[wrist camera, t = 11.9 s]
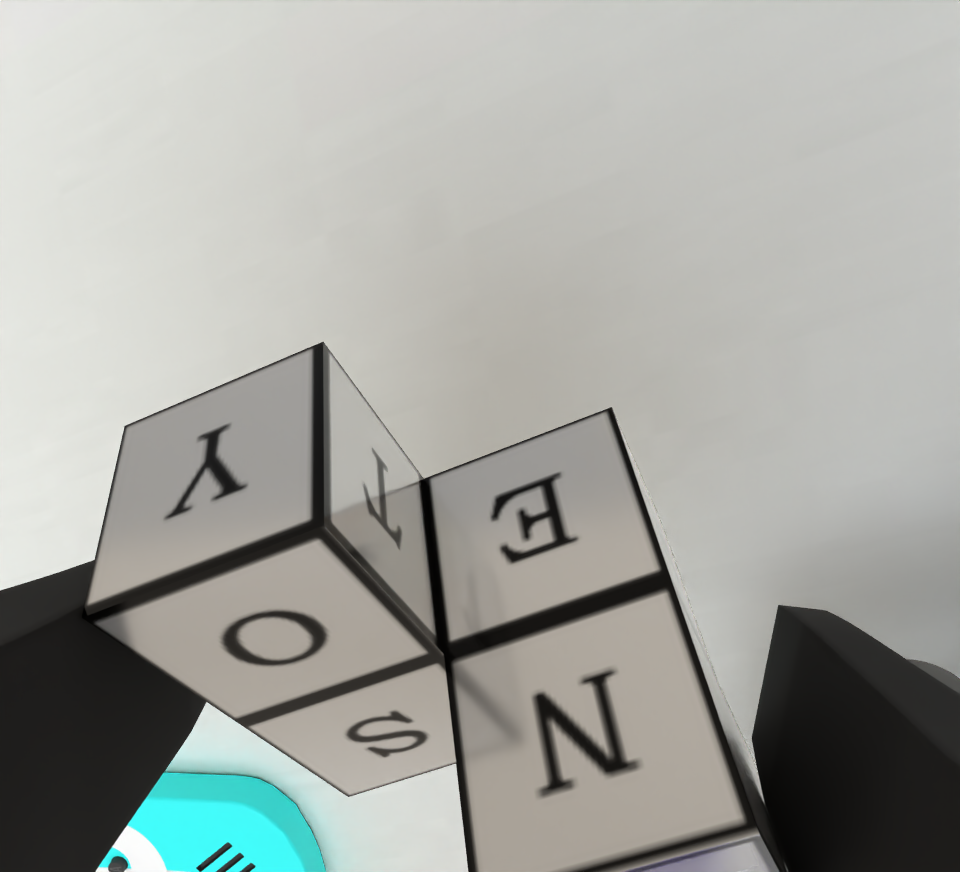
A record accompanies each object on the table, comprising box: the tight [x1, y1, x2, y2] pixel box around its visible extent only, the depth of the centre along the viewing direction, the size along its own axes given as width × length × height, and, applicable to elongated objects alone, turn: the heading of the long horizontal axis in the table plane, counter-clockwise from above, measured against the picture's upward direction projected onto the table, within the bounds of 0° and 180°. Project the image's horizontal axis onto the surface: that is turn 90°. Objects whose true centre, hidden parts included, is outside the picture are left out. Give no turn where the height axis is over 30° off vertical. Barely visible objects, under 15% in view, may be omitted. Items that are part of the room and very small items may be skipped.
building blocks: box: [82, 342, 788, 872], centre depth 11 cm, size 5×5×8 cm
